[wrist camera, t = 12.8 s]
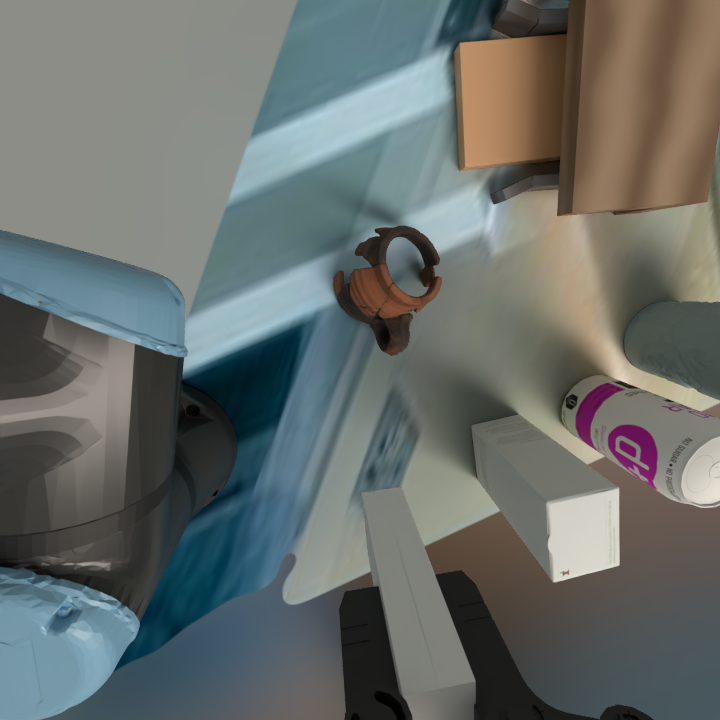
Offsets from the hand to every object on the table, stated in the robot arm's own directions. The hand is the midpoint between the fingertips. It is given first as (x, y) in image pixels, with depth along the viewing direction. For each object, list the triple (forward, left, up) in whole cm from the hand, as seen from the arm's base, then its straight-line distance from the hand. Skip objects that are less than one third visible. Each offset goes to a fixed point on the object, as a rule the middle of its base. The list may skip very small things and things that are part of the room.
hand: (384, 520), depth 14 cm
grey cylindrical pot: (+38, -2, -27) cm, 46 cm away
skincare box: (+18, -14, -27) cm, 35 cm away
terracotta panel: (+22, +23, -27) cm, 41 cm away
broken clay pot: (+5, +6, -27) cm, 28 cm away
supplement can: (+30, -10, -27) cm, 41 cm away
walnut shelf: (+26, +22, -26) cm, 43 cm away
